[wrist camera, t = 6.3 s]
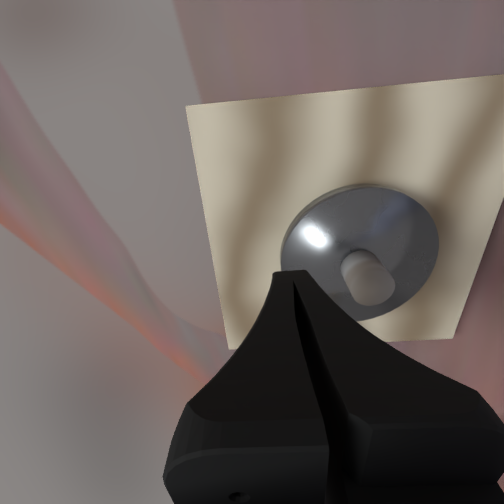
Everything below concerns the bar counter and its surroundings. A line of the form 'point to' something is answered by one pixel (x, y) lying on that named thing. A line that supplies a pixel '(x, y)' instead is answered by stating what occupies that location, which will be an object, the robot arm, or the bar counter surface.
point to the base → (347, 173)
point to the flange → (363, 242)
